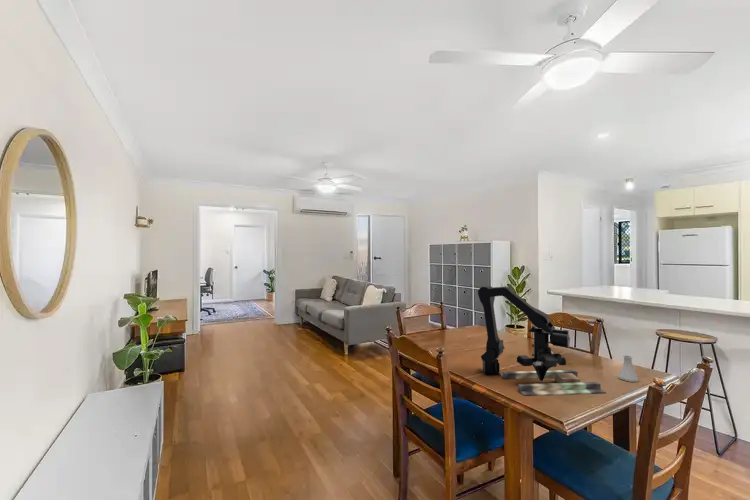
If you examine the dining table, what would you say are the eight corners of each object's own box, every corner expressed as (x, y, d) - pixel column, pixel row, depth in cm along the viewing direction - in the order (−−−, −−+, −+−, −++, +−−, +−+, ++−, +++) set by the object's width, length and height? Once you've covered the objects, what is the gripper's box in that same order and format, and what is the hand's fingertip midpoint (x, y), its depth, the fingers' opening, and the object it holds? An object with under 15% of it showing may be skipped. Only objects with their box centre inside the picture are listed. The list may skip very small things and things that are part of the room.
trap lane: (524, 395, 131) (524, 389, 131) (499, 375, 153) (499, 369, 153) (606, 393, 133) (606, 386, 133) (570, 373, 155) (570, 367, 155)
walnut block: (562, 388, 139) (562, 378, 139) (554, 382, 146) (554, 372, 146) (580, 389, 138) (580, 379, 138) (572, 382, 145) (571, 373, 145)
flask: (632, 383, 143) (632, 359, 143) (614, 378, 149) (613, 355, 149) (642, 380, 146) (641, 357, 146) (623, 375, 152) (623, 352, 153)
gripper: (529, 349, 134) (529, 389, 134) (575, 348, 136) (575, 387, 136) (516, 341, 146) (516, 378, 146) (558, 341, 147) (558, 377, 147)
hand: (541, 380), depth 143 cm, fingers closed
